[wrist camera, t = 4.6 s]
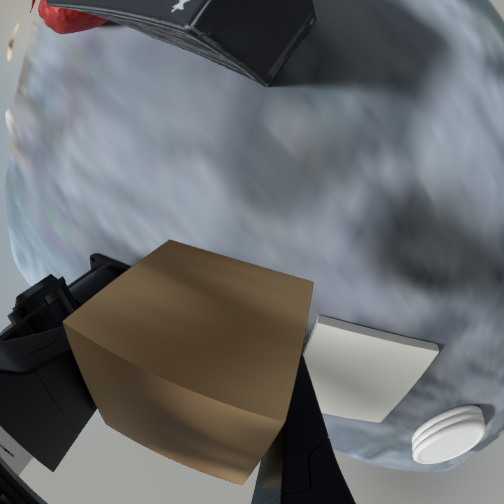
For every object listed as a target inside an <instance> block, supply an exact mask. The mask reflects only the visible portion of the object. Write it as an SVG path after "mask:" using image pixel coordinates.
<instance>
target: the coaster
mask: <svg viewBox="0 0 504 504" xmlns="http://www.w3.org/2000/svg"><path fill="white" fill-rule="evenodd" d="M482 415H483V413H482V411H481V409H480V408H479V407H477V406H473V405H467V406H460V407H456V408H453V409H450V410H448V411H445V412H443V413H441V414H438V415H436V416H435V417H433V418H431V419H429V420H428V421H426V422H425V423H424V424H422V425H421V426H420V427H419V428H418V429H417V430H416V431H415V433H414V434H413V437H412V444H413V446H412V450H413V454H412V455H413V459H414V460H415V461H416V462H418V463H421V464H434V463H439V462H443V461H447V460H450V459H452V458H455V457H457V456H459V455H461V454H463V453H465V452H466V451H468V450H469V449H471V448H472V447H474V446H475V445H476V444H477V443H478V442H479V441H480V440H481V439H482V437H483V436H484V434H485V432H486V425H485V423H484V418H483V416H482Z"/></svg>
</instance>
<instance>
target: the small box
mask: <svg viewBox="0 0 504 504" xmlns="http://www.w3.org/2000/svg"><path fill="white" fill-rule="evenodd" d="M46 4H47V5H48V6H52V7H61V8H66V9H72V10H76V11H81V12H85V13H88V14H92V15H96V16H98V17H102V18H105V19H108V20H111V21H114V22H116V23H119V24H122V25H125V26H127V27H130V28H133V29H135V30H137V31H140V32H142V33H144V34H146V35H148V36H150V37H152V38H156V39H159V40H161V41H164V42H167V43H169V44H172V45H175V46H178V47H180V48H182V49H185V50H188V51H191V52H193V53H195V54H198V55H200V56H203V57H205V58H207V59H209V60H211V61H213V62H215V63H218V64H220V65H222V66H225V67H226V68H228V69H231V70H233V71H235V72H237V73H239V74H241V75H244V76H246V77H248V78H250V79H252V80H254V81H256V82H258V83H260V84H261V85H263V86H265V87H267V86H270V85H272V82H273V81H275V79H276V77H277V74H278V72H279V71H280V70H281V69H282V68H283V65H284V64H285V62H286V61H287V59H288V58H289V57H290V55H291V53H292V52H293V51H294V50H295V49H296V48H297V46H298V44H299V43H300V42H301V40H302V39H304V38H305V37H306V35H307V34H308V32H309V31H310V29H311V27H312V25H313V24H314V23H315V21H316V16H315V11H314V6H313V1H312V0H47V3H46Z"/></svg>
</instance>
